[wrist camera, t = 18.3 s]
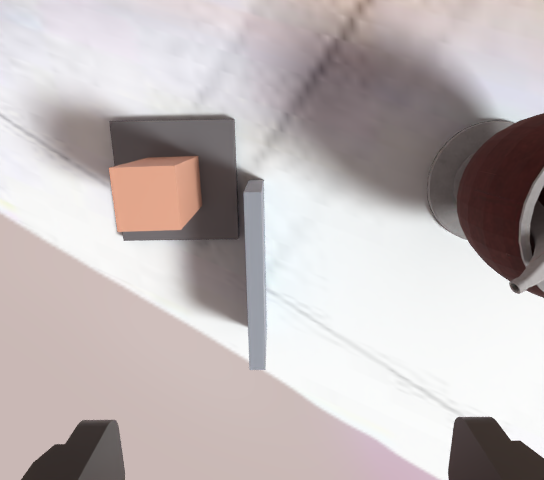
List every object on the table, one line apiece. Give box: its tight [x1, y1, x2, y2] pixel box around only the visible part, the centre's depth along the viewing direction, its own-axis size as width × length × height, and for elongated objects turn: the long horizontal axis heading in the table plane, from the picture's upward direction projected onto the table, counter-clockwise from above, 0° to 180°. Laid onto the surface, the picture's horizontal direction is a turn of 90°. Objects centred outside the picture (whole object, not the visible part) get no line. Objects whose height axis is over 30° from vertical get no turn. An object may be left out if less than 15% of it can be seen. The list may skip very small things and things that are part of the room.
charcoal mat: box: [110, 119, 239, 241], centre depth 42 cm, size 12×12×1 cm
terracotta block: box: [109, 156, 202, 232], centre depth 36 cm, size 5×5×10 cm
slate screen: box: [243, 180, 267, 370], centre depth 40 cm, size 17×2×8 cm, turn 1°
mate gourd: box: [427, 113, 544, 298], centre depth 33 cm, size 16×14×20 cm
